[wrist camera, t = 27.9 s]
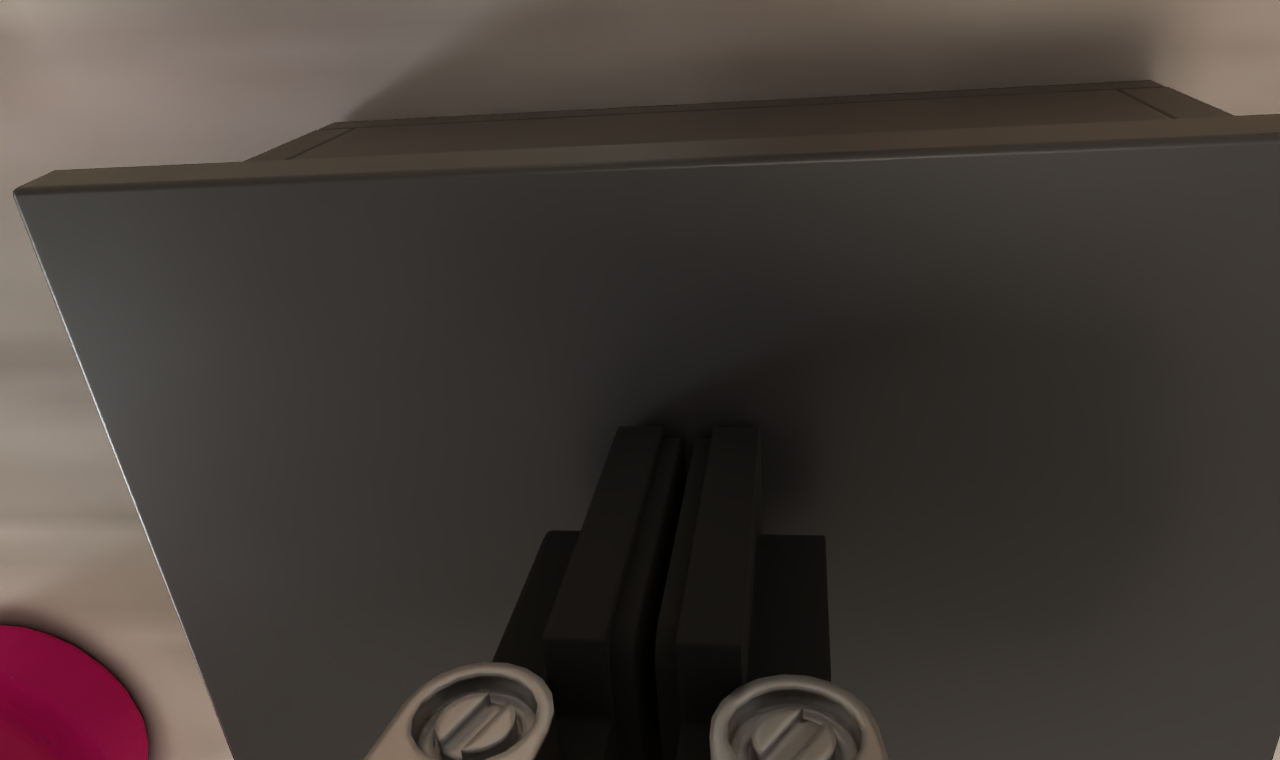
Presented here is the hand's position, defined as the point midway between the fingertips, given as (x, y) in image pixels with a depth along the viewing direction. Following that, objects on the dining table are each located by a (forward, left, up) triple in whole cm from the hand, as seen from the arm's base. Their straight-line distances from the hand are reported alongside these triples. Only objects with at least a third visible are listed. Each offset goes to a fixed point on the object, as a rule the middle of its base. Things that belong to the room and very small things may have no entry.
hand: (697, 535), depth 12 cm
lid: (+3, -2, -1) cm, 4 cm away
